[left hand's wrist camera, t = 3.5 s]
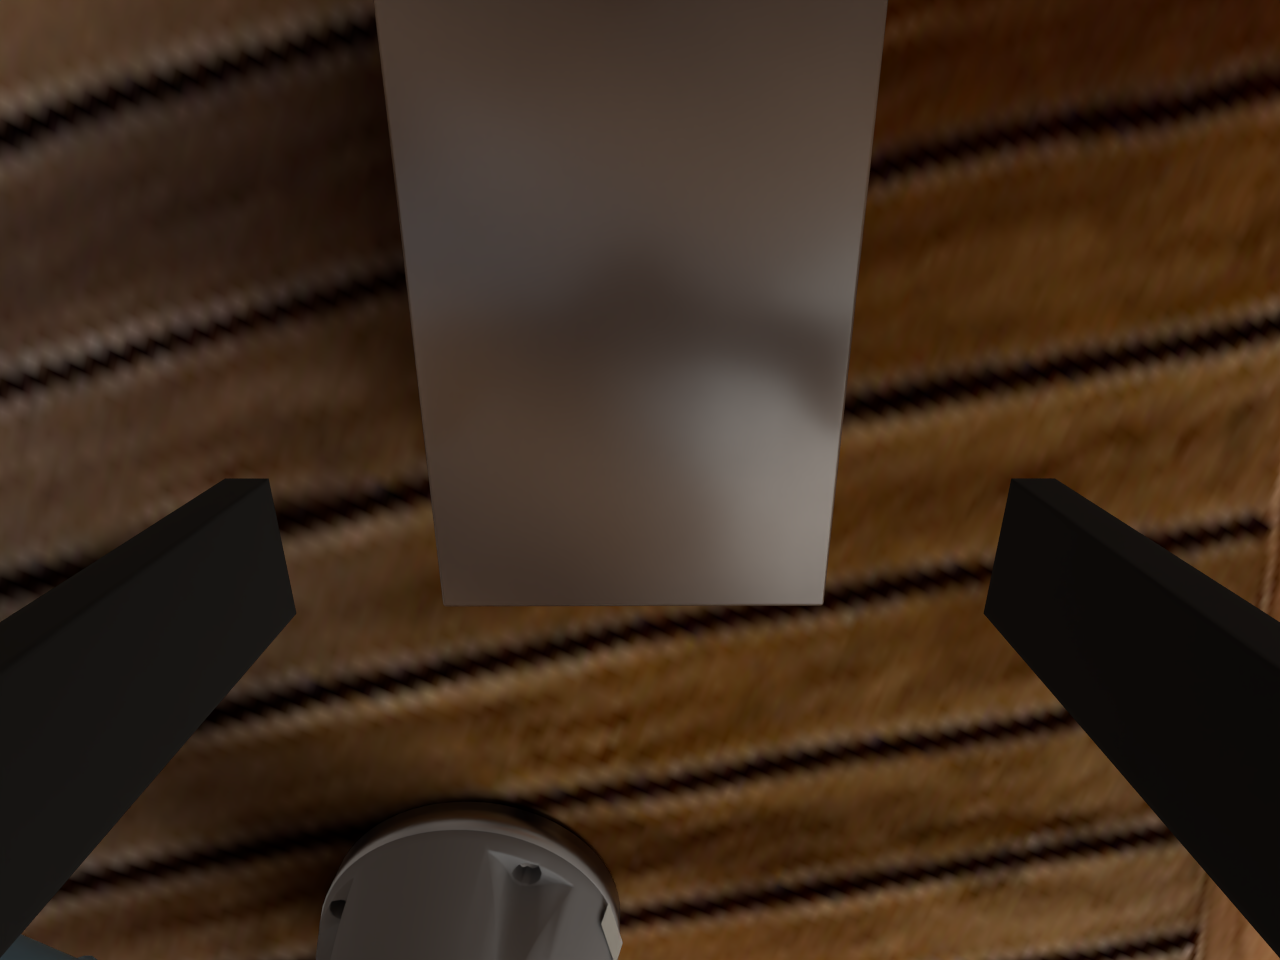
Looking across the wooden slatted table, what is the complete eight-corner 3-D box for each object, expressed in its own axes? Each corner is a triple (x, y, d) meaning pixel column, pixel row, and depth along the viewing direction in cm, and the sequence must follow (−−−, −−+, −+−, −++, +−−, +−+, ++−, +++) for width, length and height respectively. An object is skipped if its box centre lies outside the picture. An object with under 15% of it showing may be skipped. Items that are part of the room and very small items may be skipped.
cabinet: (467, -27, 22) (349, -197, 13) (798, -27, 22) (910, -196, 13) (505, 482, 29) (442, 607, 19) (764, 482, 29) (823, 606, 20)
